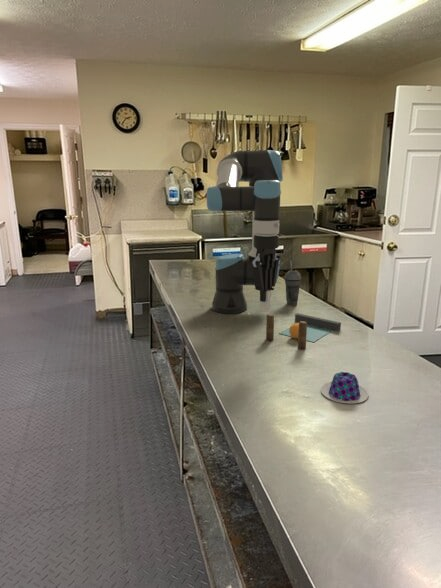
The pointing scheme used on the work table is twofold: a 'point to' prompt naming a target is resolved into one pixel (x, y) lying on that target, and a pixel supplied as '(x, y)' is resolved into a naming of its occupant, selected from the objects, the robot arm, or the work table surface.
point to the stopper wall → (318, 322)
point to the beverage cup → (292, 286)
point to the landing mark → (310, 333)
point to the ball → (294, 330)
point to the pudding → (344, 388)
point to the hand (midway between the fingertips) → (264, 310)
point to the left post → (270, 327)
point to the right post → (302, 335)
